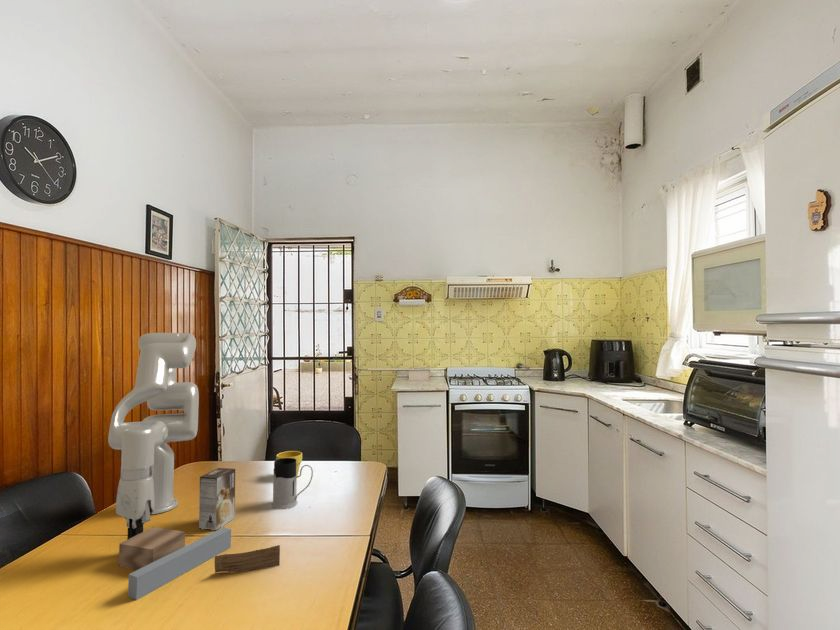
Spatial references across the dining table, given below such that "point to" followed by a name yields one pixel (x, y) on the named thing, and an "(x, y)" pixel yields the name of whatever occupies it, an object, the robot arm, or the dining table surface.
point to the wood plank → (248, 560)
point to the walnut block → (149, 547)
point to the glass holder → (285, 483)
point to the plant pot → (291, 454)
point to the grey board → (177, 563)
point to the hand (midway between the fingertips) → (135, 540)
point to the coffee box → (217, 498)
